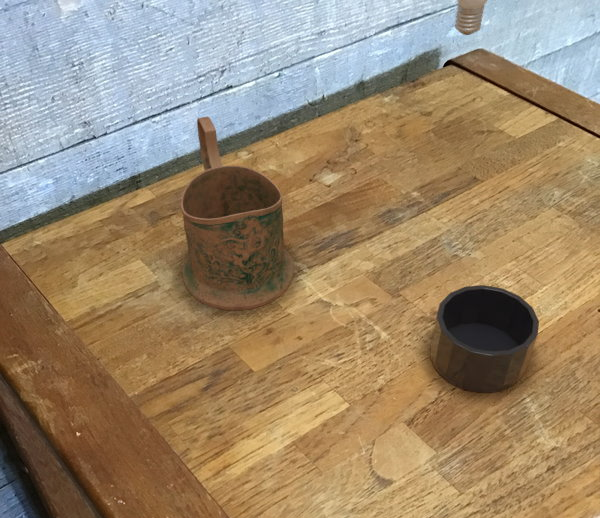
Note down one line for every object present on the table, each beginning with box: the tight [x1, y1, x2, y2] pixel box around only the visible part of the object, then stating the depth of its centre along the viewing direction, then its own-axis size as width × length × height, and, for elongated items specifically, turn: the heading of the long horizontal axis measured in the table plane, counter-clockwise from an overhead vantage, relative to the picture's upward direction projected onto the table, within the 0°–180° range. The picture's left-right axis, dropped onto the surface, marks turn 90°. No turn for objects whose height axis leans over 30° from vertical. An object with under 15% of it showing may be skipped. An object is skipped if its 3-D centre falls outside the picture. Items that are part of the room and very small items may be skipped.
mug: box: [180, 116, 295, 311], centre depth 74 cm, size 12×18×12 cm, turn 18°
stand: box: [430, 284, 540, 394], centre depth 67 cm, size 9×9×5 cm
